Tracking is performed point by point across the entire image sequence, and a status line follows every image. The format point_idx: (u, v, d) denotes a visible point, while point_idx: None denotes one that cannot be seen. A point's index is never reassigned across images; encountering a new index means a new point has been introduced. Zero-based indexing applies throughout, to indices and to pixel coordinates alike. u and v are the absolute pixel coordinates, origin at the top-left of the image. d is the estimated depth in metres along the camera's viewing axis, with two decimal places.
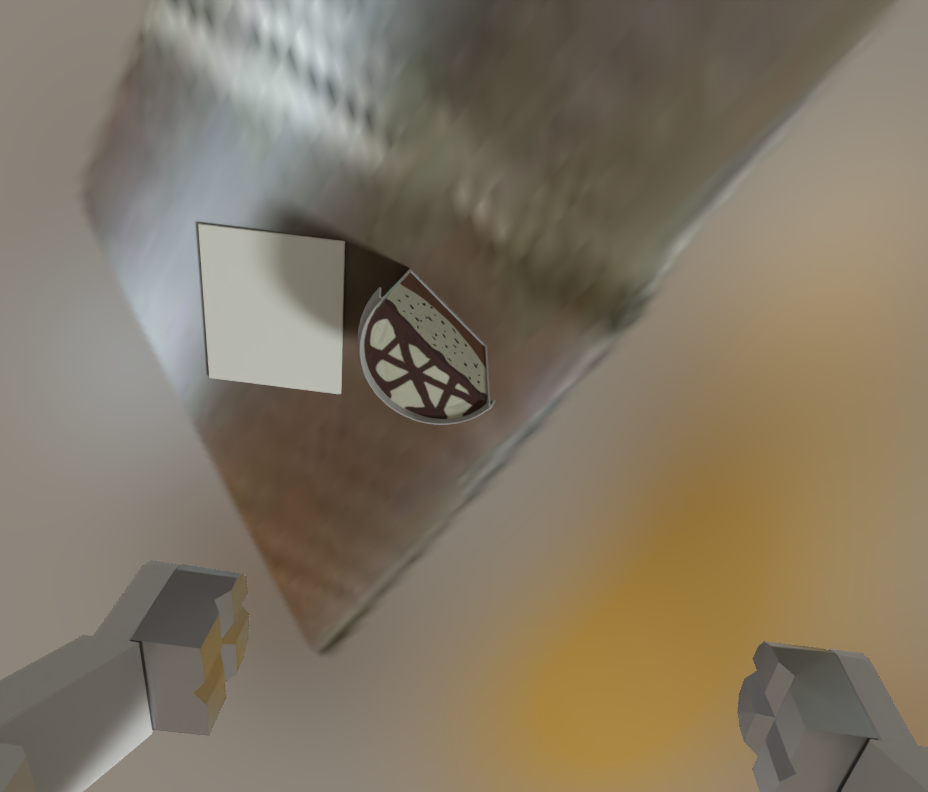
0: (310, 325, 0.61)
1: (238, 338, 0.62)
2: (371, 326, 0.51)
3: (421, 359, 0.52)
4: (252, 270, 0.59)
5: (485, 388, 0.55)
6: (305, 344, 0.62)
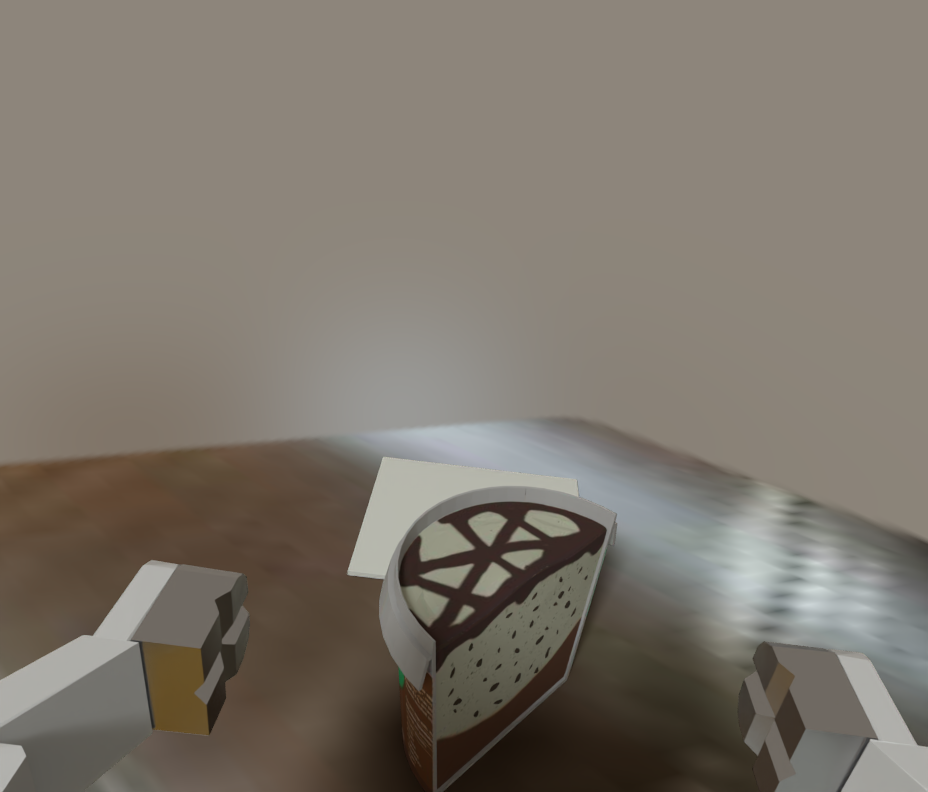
0: None
1: (437, 486, 0.49)
2: (562, 513, 0.33)
3: (520, 560, 0.29)
4: None
5: (436, 685, 0.26)
6: None
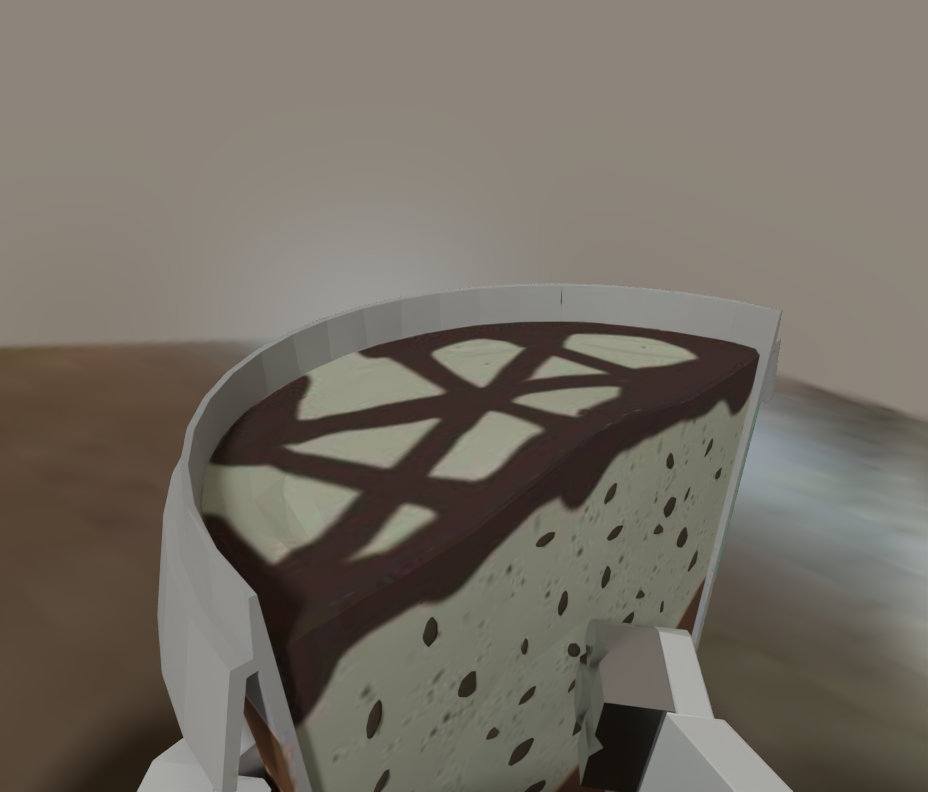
0: None
1: None
2: (648, 335, 0.14)
3: (564, 402, 0.11)
4: None
5: (316, 768, 0.08)
6: None
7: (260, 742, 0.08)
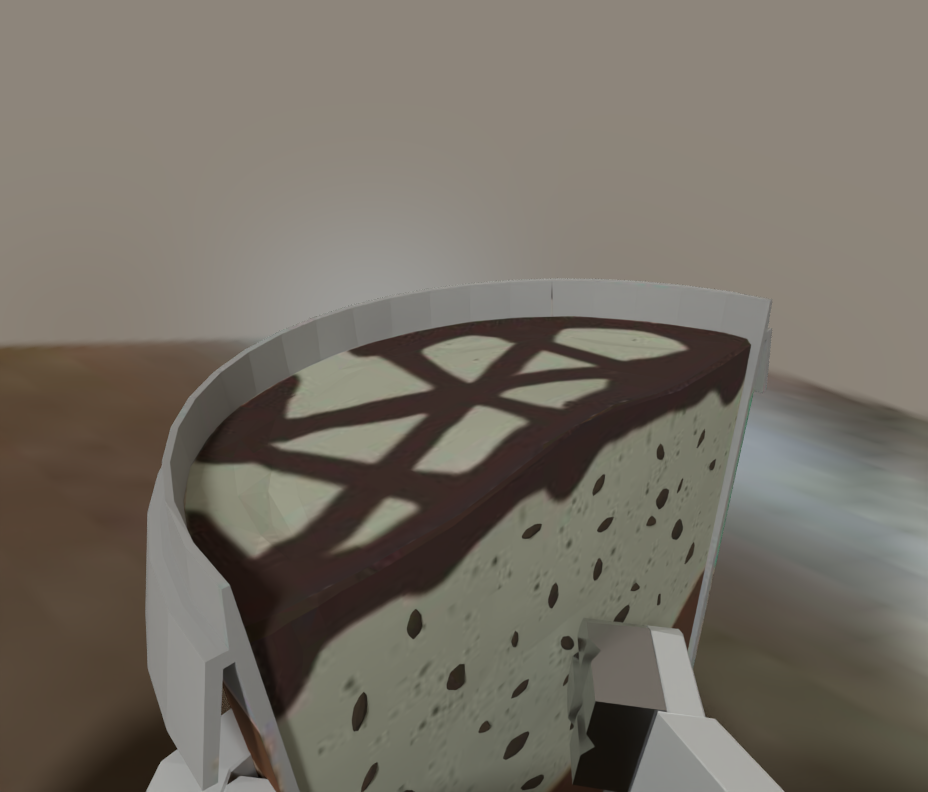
0: None
1: None
2: (639, 328, 0.14)
3: (550, 396, 0.11)
4: None
5: (300, 761, 0.08)
6: None
7: (245, 736, 0.08)
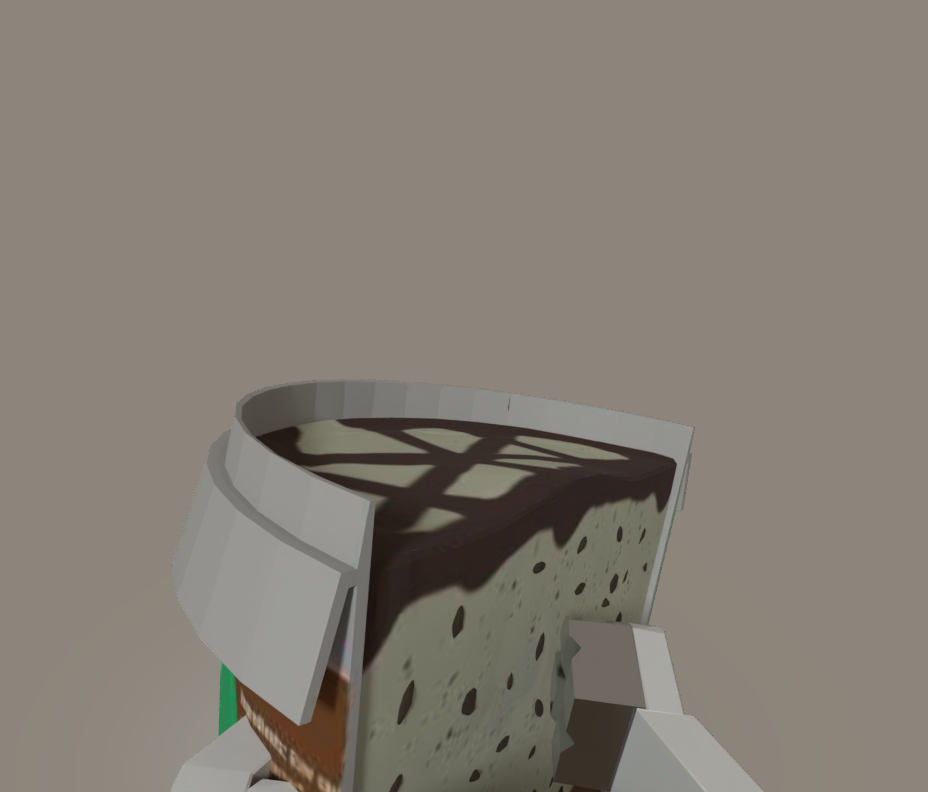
0: None
1: None
2: (582, 443, 0.17)
3: (540, 463, 0.12)
4: None
5: (356, 739, 0.07)
6: None
7: None
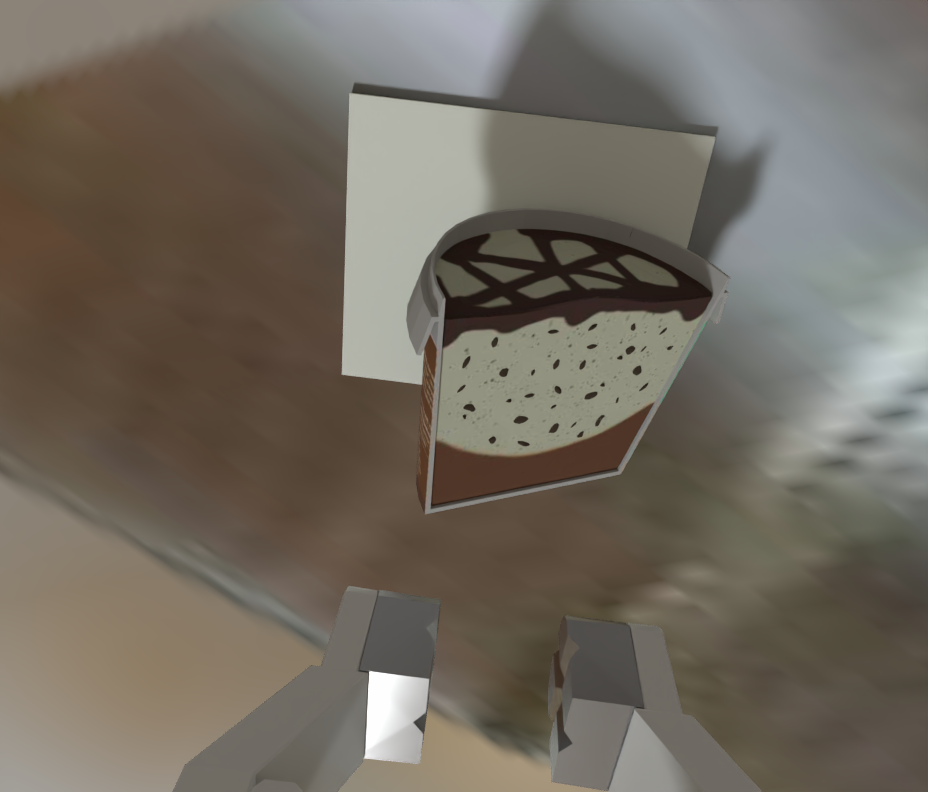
0: None
1: (453, 183, 0.28)
2: (665, 268, 0.27)
3: (588, 283, 0.25)
4: None
5: (443, 366, 0.23)
6: None
7: (429, 352, 0.23)
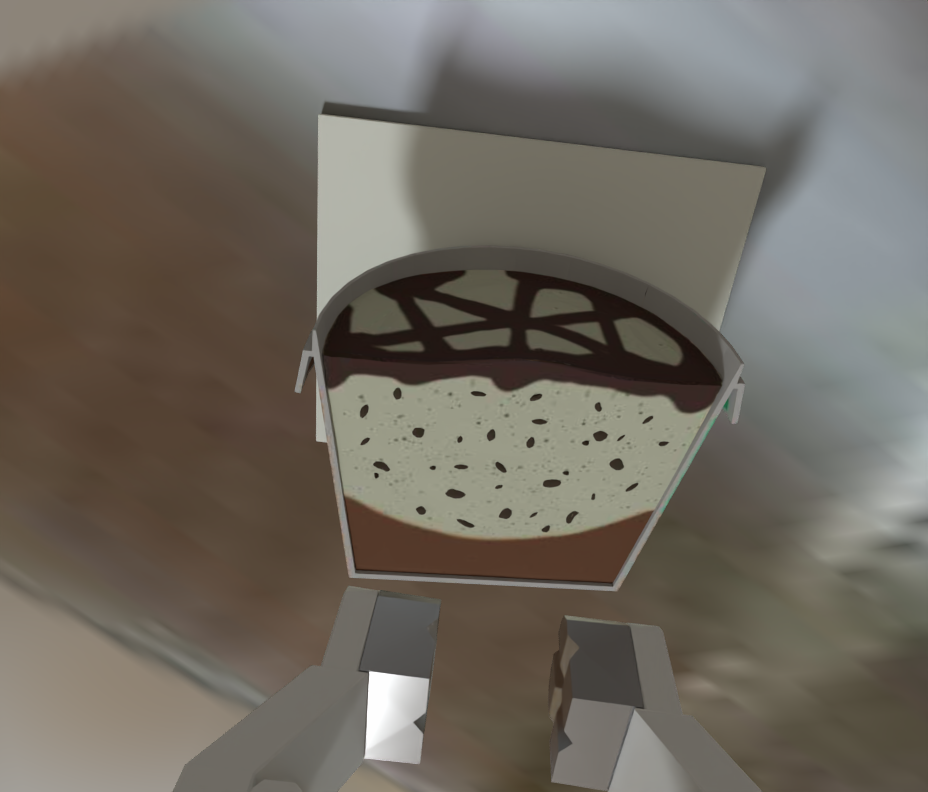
0: None
1: (445, 222, 0.23)
2: (678, 340, 0.21)
3: (541, 342, 0.20)
4: None
5: (335, 411, 0.20)
6: None
7: None
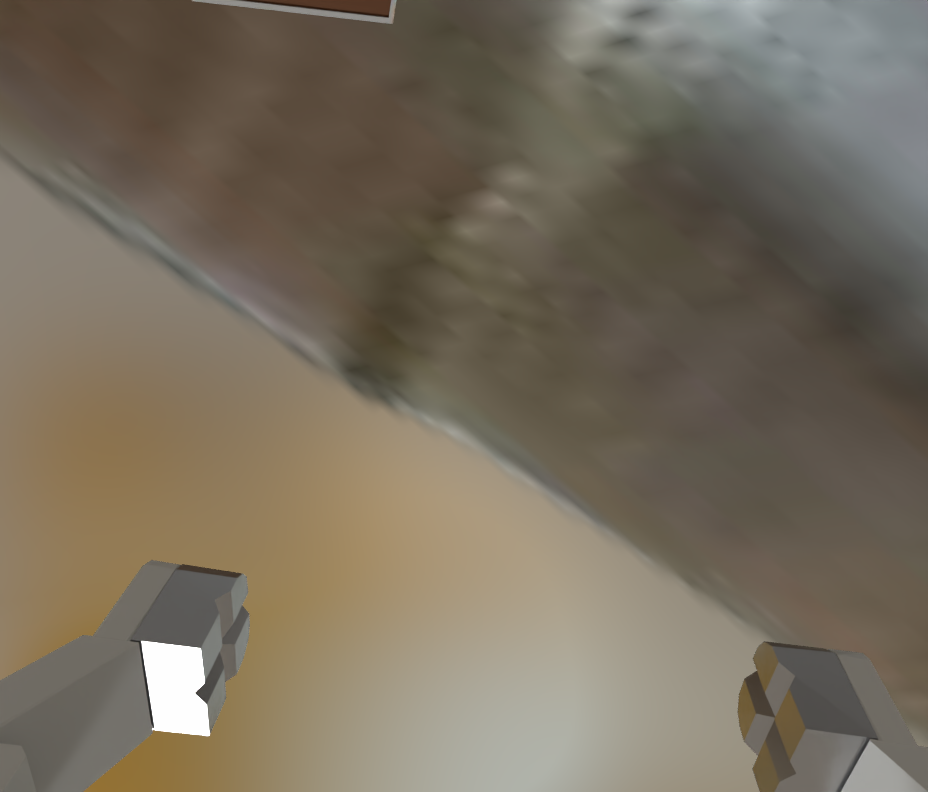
0: None
1: None
2: None
3: None
4: None
5: None
6: None
7: None
